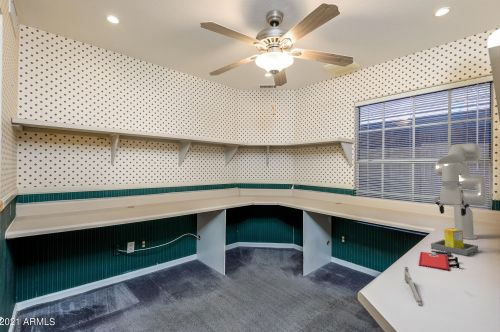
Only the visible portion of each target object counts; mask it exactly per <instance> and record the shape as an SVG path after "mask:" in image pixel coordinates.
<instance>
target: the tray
mask: <svg viewBox="0 0 500 332" xmlns="http://www.w3.org/2000/svg"><path fill="white" fill-rule="evenodd" d="M430 245H431V246H430V249H431V250H434V251H440V250H441V252H444V251H445V252H449V253H451V254H454V255H458V256H463V257H468V256H470V255H473V254H475V253H478V252H479V246H478V244H477V245H476V244H471V243H464V242H463V245H464V249H459V248H454V247H449V246H445V238H444V239H441V240H438V241H435V242H431V243H430Z"/></svg>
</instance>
